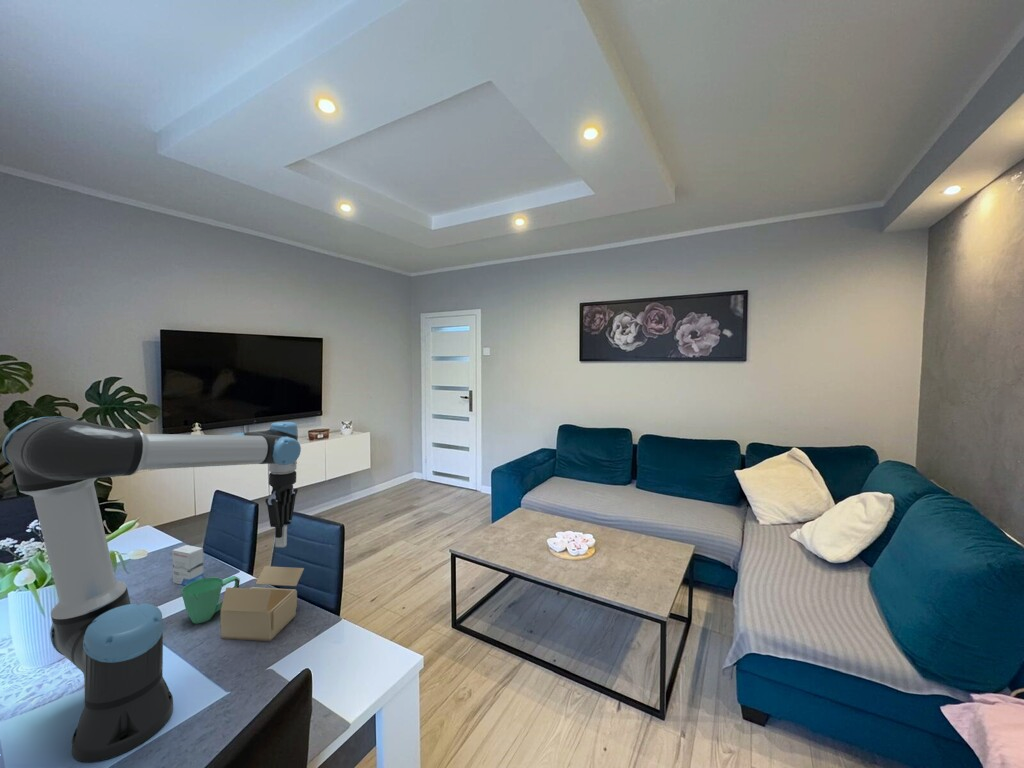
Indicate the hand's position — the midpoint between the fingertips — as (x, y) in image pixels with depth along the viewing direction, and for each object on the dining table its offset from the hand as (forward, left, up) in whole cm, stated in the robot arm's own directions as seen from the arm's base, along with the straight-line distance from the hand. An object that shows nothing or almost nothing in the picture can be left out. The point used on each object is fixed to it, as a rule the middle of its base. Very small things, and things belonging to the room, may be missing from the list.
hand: (280, 546), depth 126 cm
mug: (-6, +18, -20) cm, 27 cm away
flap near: (-16, 0, -11) cm, 20 cm away
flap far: (-3, 0, -11) cm, 11 cm away
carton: (-10, 0, -20) cm, 22 cm away
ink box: (+11, +41, -20) cm, 47 cm away
